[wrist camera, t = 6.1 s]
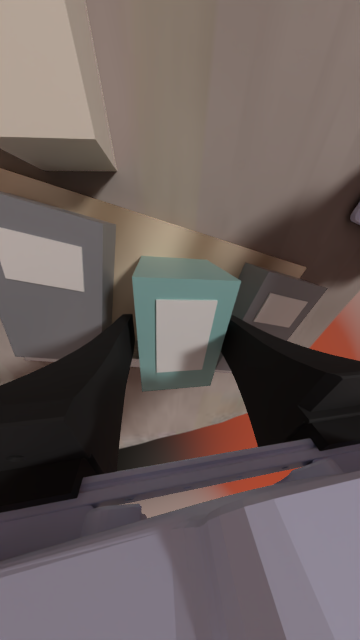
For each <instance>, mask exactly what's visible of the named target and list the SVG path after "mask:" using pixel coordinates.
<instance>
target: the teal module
mask: <svg viewBox="0 0 360 640" xmlns="http://www.w3.org/2000/svg"><path fill="white" fill-rule="evenodd" d="M132 283H133V294H134V305H135V317H136V328H137V339H138V350H139V361H140V372H141V383H142V392H143V391H154V390H165V389H177V388H188V387H200V386H210V385H211V381H212V378H213V375H214V371H215V368H216V365H217V361H218V358H219V355H220V351H221V348H222V344H223V341H224V338H225V334H226V331H227V328H228V324H229V321H230V318H231V314H232V311H233V307H234V304H235V301H236V297H237V294H238V291H239V287H240V284H241V280H239V279H237V278H236V277H234V276H232V275H231V274H229V273H228V272H226V271H224V270H223V269H221V268H219V267H218V266H216V265H215V264H213V263H211V262H210V261H208V260H203V259H186V258H170V257H153V256H141V258H140V260H139V262H138V265H137V267H136V269H135V271H134V274H133V276H132Z"/></svg>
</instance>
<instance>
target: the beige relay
mask: <svg viewBox="0 0 360 640" xmlns="http://www.w3.org/2000/svg"><path fill="white" fill-rule="evenodd" d="M0 149H2V150H4V151H6V152H8V153H10V154H12V155H14V156H16V157H18V158H19V159H21V160H23V161H25V162H27V163H29V164H31V165H33V166H35V167H37V168H39V169H41V170H43V171H117V168H116V163H115V157H114V152H113V147H112V141H111V136H110V130H109V125H108V120H107V114H106V109H105V104H104V98H103V93H102V87H101V82H100V77H99V71H98V66H97V60H96V55H95V50H94V44H93V39H92V34H91V28H90V23H89V17H88V12H87V7H86V1H85V0H0Z"/></svg>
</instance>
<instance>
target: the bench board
mask: <svg viewBox="0 0 360 640" xmlns="http://www.w3.org/2000/svg"><path fill="white" fill-rule="evenodd" d="M0 191H2V192H6V193H11V194H14V195H17V196H21V197H24V198H28V199H31V200H34V201H38V202H41V203H45V204H48V205H51V206H55V207H58V208H62V209H65V210H69V211H72V212H75V213H79V214H82V215H86V216H89V217H92V218H96V219H99V220H103V221H106V222H109V223H113V224H116V240H115V263H114V285H113V307H112V323H114V322H115V321H116V320H117V319H118V318H119V317H120V316H121V315H123V314H133V323H134V332H135V341H138V339H137V328H136V317H135V305H134V294H133V283H132V276H133V274H134V271H135V269H136V267H137V265H138V262H139V260H140V258H141V256H153V257H170V258H186V259H203V260H208V261H210V262H211V263H213V264H215V265H216V266H218V267H219V268H221V269H223V270H224V271H226V272H228V273H229V274H231V275H232V276H234V277H236V278H237V279H238V278H239V275H240V273H241V271H242V269H243V267H244V265H245V262H246V263H249V264H253V265H256V266H259V267H263V268H266V269H270V270H273V271H276V272H280V273H283V274H287V275H290V276H293V277H297V278H299V279H300V277H301V276H302V274H303V273H304V271H305V270H306V268H307V267H304V266H301V265H298V264H295V263H292V262H288V261H285V260H282V259H279V258H276V257H273V256H270V255H267V254H264V253H261V252H258V251H254V250H251V249H248V248H245V247H242V246H239V245H236V244H233V243H230V242H227V241H224V240H221V239H217V238H214V237H211V236H208V235H205V234H202V233H199V232H196V231H193V230H190V229H187V228H184V227H180V226H177V225H174V224H171V223H168V222H165V221H162V220H159V219H156V218H153V217H150V216H147V215H143V214H140V213H137V212H134V211H131V210H128V209H125V208H122V207H119V206H116V205H113V204H110V203H106V202H103V201H100V200H97V199H94V198H91V197H88V196H85V195H82V194H79V193H76V192H73V191H69V190H66V189H63V188H60V187H57V186H54V185H51V184H48V183H45V182H42V181H39V180H36V179H32V178H29V177H26V176H23V175H20V174H17V173H14V172H11V171H8V170H5V169H2V168H0Z"/></svg>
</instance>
